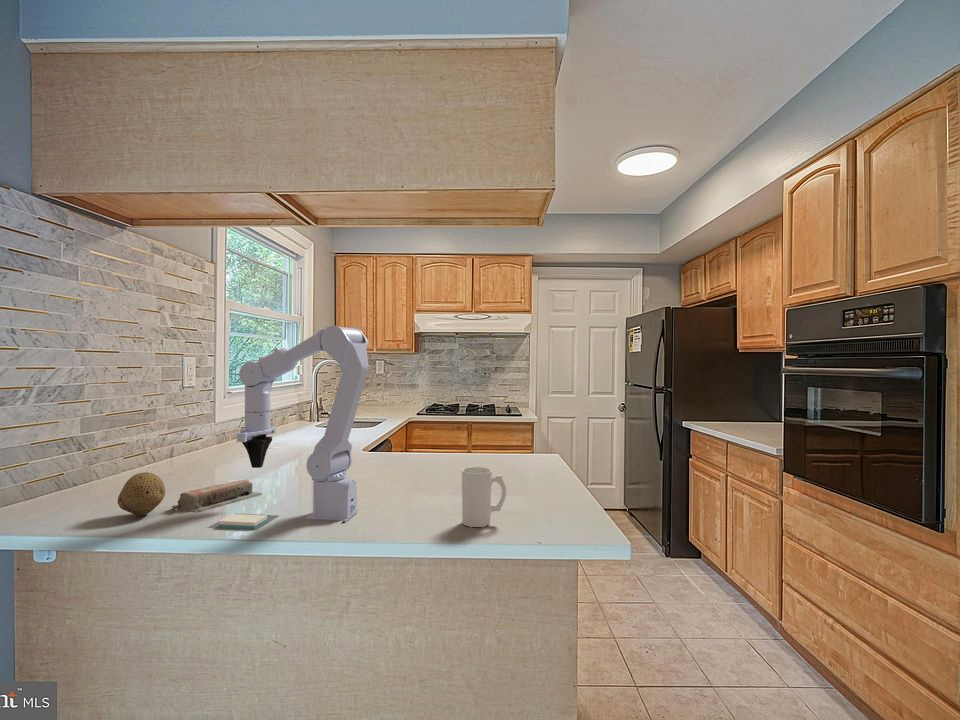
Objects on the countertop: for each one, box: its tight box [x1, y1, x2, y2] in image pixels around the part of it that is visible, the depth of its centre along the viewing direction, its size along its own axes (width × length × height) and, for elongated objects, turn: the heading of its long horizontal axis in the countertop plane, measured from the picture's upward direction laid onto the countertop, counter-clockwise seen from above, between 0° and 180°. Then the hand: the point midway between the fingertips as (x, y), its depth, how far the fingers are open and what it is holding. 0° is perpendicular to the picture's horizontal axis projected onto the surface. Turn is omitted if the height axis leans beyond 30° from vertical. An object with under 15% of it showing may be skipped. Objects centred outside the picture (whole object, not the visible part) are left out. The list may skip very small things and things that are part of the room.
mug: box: [461, 466, 507, 528], centre depth 118 cm, size 10×7×12 cm, turn 92°
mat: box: [207, 513, 280, 531], centre depth 116 cm, size 11×10×1 cm
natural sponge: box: [117, 471, 166, 517], centre depth 121 cm, size 9×9×10 cm
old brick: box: [171, 479, 263, 513], centre depth 132 cm, size 18×5×10 cm
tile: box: [218, 513, 267, 530], centre depth 114 cm, size 8×1×5 cm
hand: (257, 467), depth 128 cm, fingers closed
